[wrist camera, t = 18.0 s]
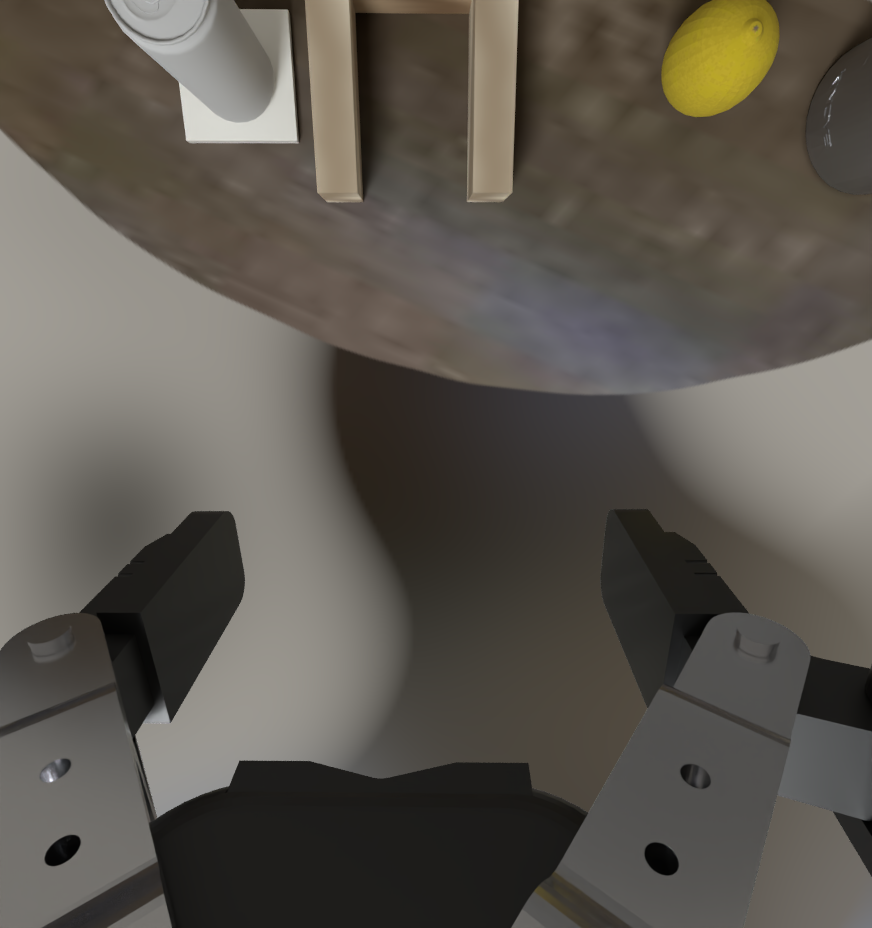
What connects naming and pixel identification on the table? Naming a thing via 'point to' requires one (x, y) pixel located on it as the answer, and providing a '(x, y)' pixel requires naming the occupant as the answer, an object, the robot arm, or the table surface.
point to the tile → (282, 109)
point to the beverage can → (203, 51)
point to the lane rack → (338, 92)
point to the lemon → (719, 55)
